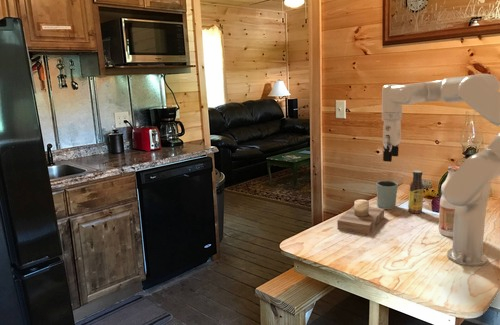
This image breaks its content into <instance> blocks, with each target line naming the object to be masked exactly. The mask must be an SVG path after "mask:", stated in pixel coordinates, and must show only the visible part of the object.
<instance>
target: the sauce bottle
mask: <svg viewBox="0 0 500 325" xmlns="http://www.w3.org/2000/svg"><path fill="white" fill-rule="evenodd" d="M422 175H423V171H422V170H413V171H412V181H411V182H410V185H409V192H408V205H407V206H408V209H407V210H408V212H409V213H411V214H420V213H422V212H423V205H424V203H423V202H424V191H425V188H424V185H423V181H422V180H423V179H422Z"/></svg>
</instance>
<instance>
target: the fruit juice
mask: <svg viewBox="0 0 500 325" xmlns="http://www.w3.org/2000/svg"><path fill="white" fill-rule="evenodd" d="M459 167H460V166H458V165H452V166H450V165H449V166H448V167H447V171H448V173H447V176H446V178H445V180H444V182H442V184H441V186H440V187H441V188H440V191H441V195H440V196H441V197H440V198H439V212H438V213H439V216H438V232H439V234H441V235H443V236H445V237H450V238H453V229H454V214H455V206H454V205H452V204H450V203H449V202H448V201H447V200H446V198H445V195H444V188H445V185H446V184H447V182H448V181H449V180H450V178H451V177H452V176H453V175H454V173H455V172H456V171H457V170H458V168H459Z"/></svg>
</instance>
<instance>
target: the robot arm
mask: <svg viewBox="0 0 500 325" xmlns="http://www.w3.org/2000/svg"><path fill="white" fill-rule="evenodd" d="M439 101H440V102H444V103H446V104H447V103H448V104H450V103H463V102H464V103H465V104H466V105H467V106H469V107H470V108H471V109H472V110H474V111H475V112H476V113H478V114H479V115H480V116H482V117H483V118H484V119H485V120H486V121H487V122H489V123H491V124H492V125H494V126H496V127H500V81H499V78H497V77H496V76H495V75H494V74H491V73H478V74H471V75H470V74H469V75H463V76H454V77H453V76H452V77H446V78H443V79H440V80H433V81H432V80H431V81H422V82H415V83H414V82H412V83H407V84H406V83H405V84H399V83H395V84H391V83H389V84H384V85H383V86H382V88H381V121H382V122H383V127H382V145H383V149H382V152H383V154H382V160H383V162H390V163H391V162H393V159H392V158H393V157H399V144H400V143H401V142H402V125H401V124H402V123H401V121H402V120H403V106H404V105H405V106H407V105H413V104H419V103H420V104H421V103H427V102H428V103H429V102H439ZM458 167H459V168H458V170H457V171H456V172H455V173H454V175H453V176H452V177H451V178H450V180H449V181H448V182H447V184H446V185H445V188H444V195H445V198H446V200H447V201H448V202H449V203H450V204H452V205H454V206H455V214H454V229H453V237H452V247H451V248H450V249H448V250H447V253H446V256H447V258H448V259H449V260H451V261H452V262H453V263H454V262H455V263H456V264H459V265H463V266H469V267H477V266H478V267H479V266H483V265H485V264H487V261H488V257H487V255H486V254H484V252H483V251H484V250H483V249H484V247H483V246H484V238H485V236H484V235H485V223H486V215H487V212H486V211H487V206H488V200H489V196H490V192H491V184H490V182H491V181H493V180H495V179H497V178H499V177H500V132H498V134H496V136H495V137H494V138H493V140H492V141H491V142H490V143H489V144H488V145H487V146H486V148H484V149H483V150H480V151H479V152H476V153H474V154H471V155H470V156H469V157H467V158H466V159H465V160H464V161H463V162H462V163H461V165H460V166H458Z"/></svg>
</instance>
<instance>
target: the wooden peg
mask: <svg viewBox="0 0 500 325" xmlns="http://www.w3.org/2000/svg"><path fill="white" fill-rule="evenodd" d="M369 202H370V201H368V200H366V199H356V200H354V205H353V206H354V215H355V216H358V217H366V216H368V215H369V207H370V206H369V205H370V203H369Z"/></svg>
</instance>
